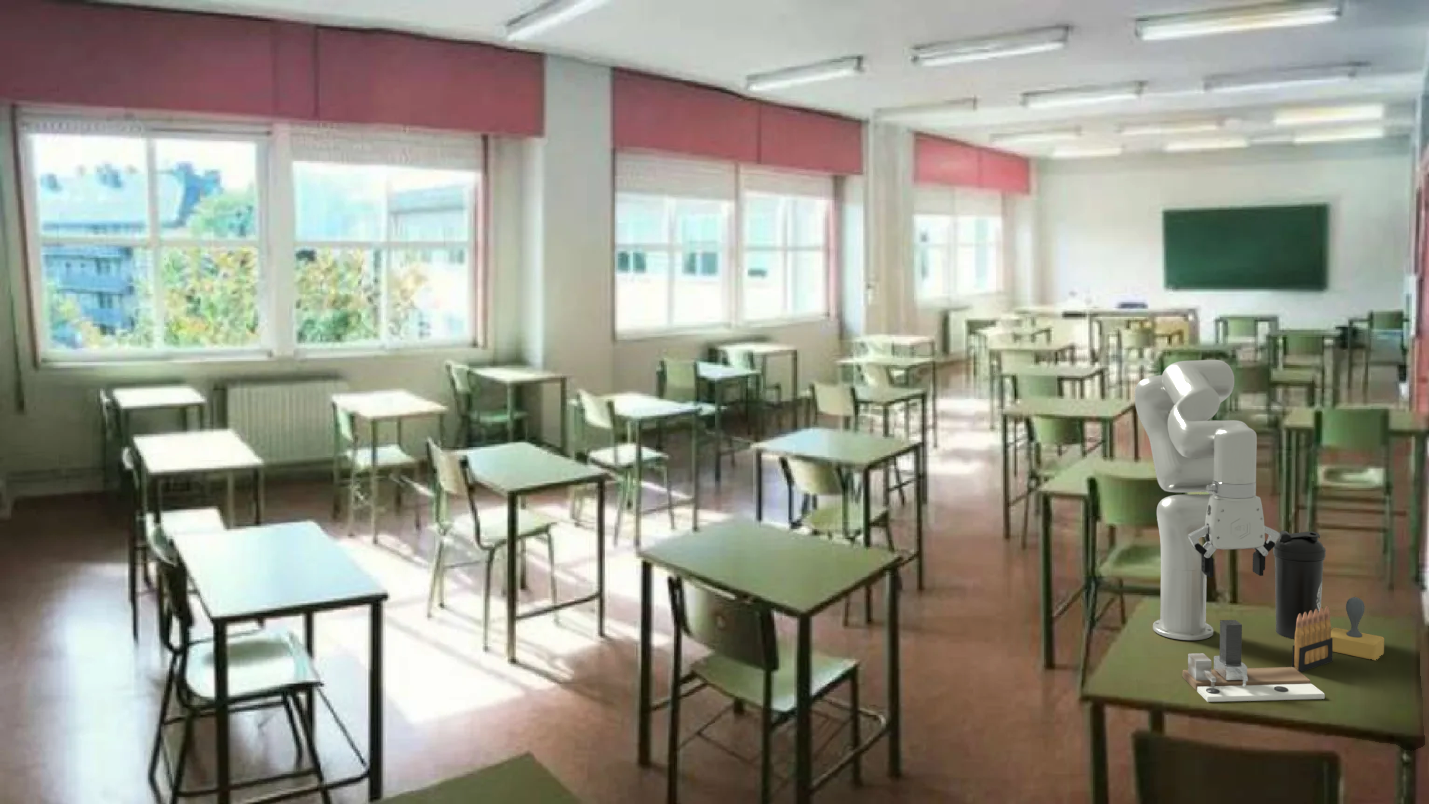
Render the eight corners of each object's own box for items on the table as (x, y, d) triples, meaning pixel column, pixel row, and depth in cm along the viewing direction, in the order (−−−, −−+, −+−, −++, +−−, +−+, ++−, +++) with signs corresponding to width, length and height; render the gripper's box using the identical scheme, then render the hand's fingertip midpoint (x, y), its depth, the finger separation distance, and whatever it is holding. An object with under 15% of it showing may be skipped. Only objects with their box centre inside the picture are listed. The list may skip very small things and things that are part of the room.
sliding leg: (1213, 668, 222) (1214, 617, 220) (1233, 668, 222) (1234, 617, 220) (1234, 687, 212) (1235, 634, 210) (1256, 687, 212) (1257, 634, 210)
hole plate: (1197, 691, 215) (1197, 685, 215) (1311, 688, 214) (1311, 682, 214) (1207, 701, 210) (1207, 695, 210) (1324, 698, 209) (1324, 692, 209)
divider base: (1182, 677, 223) (1182, 651, 222) (1293, 674, 222) (1293, 648, 221) (1203, 697, 212) (1203, 670, 212) (1319, 694, 211) (1319, 667, 211)
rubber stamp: (1384, 653, 231) (1386, 598, 229) (1375, 661, 227) (1377, 605, 225) (1332, 643, 238) (1334, 589, 236) (1323, 650, 234) (1324, 596, 232)
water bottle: (1326, 642, 238) (1329, 539, 235) (1274, 639, 242) (1276, 537, 239) (1319, 627, 247) (1321, 528, 244) (1268, 624, 251) (1270, 526, 248)
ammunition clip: (1299, 672, 223) (1301, 615, 221) (1291, 669, 224) (1292, 613, 223) (1332, 661, 228) (1334, 605, 226) (1324, 658, 229) (1325, 603, 228)
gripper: (1197, 495, 210) (1196, 581, 213) (1288, 492, 210) (1286, 578, 212) (1182, 487, 218) (1181, 571, 220) (1270, 484, 217) (1268, 568, 219)
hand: (1233, 574), depth 216 cm, fingers open, 9 cm apart
